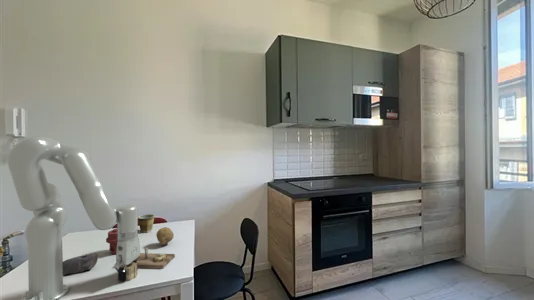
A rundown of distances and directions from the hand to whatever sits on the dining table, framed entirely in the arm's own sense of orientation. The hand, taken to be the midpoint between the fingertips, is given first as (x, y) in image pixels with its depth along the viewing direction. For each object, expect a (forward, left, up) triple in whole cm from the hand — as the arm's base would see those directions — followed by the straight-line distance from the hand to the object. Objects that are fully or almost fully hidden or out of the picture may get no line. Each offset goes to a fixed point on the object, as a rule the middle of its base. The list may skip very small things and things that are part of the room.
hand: (128, 275), depth 104 cm
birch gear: (0, 0, -1) cm, 1 cm away
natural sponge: (+35, +1, -1) cm, 35 cm away
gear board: (+14, 0, -1) cm, 14 cm away
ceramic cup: (+57, +26, -1) cm, 63 cm away
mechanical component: (+24, +22, -1) cm, 33 cm away
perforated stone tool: (+3, +26, -1) cm, 26 cm away
